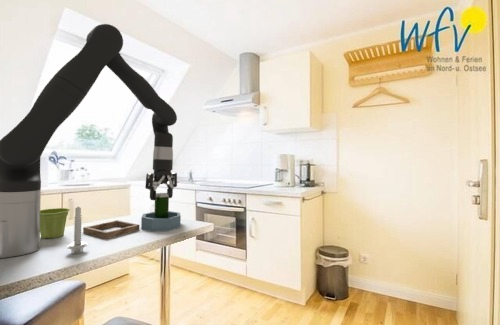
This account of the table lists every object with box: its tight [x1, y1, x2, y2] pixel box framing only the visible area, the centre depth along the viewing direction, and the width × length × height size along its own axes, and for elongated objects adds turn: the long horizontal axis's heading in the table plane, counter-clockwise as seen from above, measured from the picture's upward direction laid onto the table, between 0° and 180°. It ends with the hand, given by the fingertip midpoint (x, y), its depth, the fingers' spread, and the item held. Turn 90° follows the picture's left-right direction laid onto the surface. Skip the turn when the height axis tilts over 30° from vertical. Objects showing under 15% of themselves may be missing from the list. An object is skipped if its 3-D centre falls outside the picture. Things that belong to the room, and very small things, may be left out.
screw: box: [66, 206, 89, 255], centre depth 73 cm, size 13×5×5 cm
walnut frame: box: [82, 220, 140, 240], centre depth 94 cm, size 13×13×2 cm
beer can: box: [153, 192, 170, 219], centre depth 103 cm, size 5×5×12 cm
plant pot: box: [40, 207, 71, 240], centre depth 86 cm, size 9×9×9 cm
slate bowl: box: [140, 210, 182, 232], centre depth 103 cm, size 14×14×4 cm
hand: (161, 198), depth 103 cm, fingers open, 8 cm apart
